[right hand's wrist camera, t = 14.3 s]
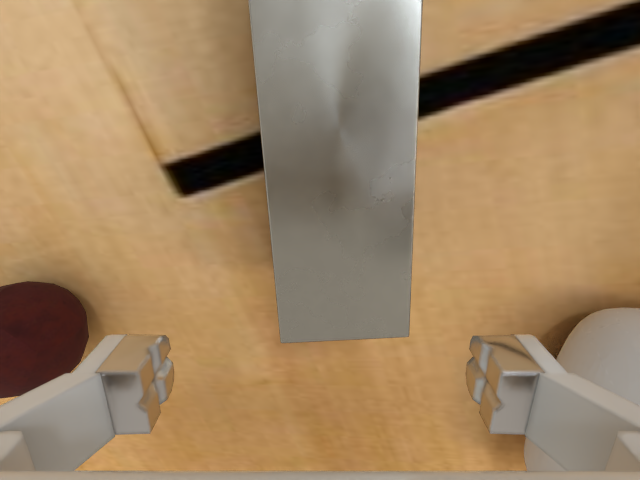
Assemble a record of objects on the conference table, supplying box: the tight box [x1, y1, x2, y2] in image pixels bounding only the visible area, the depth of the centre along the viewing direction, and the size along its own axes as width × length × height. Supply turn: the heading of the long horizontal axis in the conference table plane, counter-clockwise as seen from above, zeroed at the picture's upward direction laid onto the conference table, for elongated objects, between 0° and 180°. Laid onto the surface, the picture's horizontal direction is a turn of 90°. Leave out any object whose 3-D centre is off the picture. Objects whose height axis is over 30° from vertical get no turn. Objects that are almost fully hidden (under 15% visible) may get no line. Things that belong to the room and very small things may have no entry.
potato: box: [0, 281, 89, 398], centre depth 25 cm, size 7×8×7 cm
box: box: [248, 0, 423, 343], centre depth 20 cm, size 21×6×9 cm, turn 3°
